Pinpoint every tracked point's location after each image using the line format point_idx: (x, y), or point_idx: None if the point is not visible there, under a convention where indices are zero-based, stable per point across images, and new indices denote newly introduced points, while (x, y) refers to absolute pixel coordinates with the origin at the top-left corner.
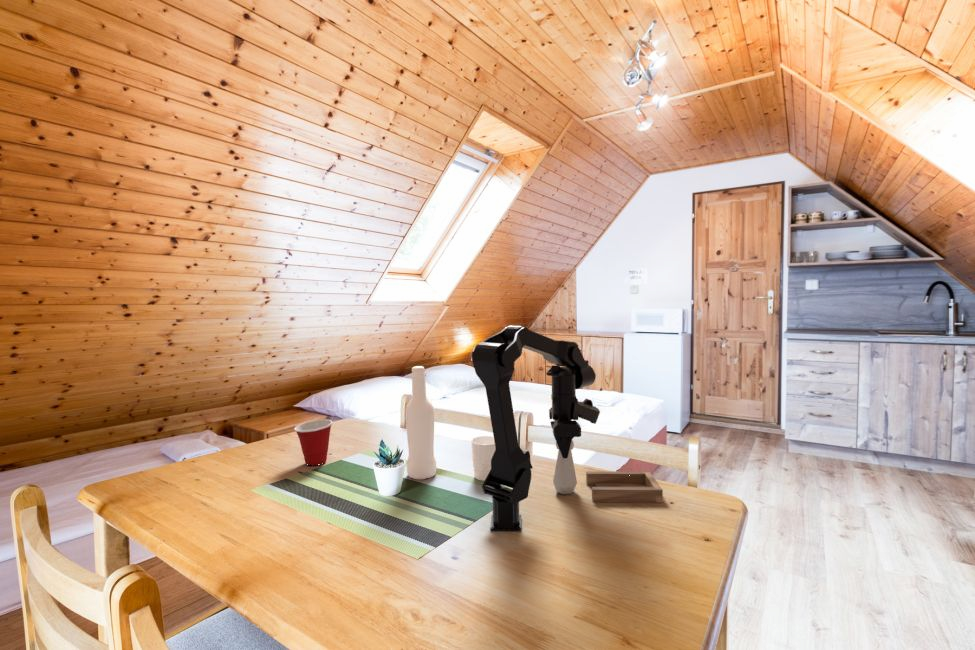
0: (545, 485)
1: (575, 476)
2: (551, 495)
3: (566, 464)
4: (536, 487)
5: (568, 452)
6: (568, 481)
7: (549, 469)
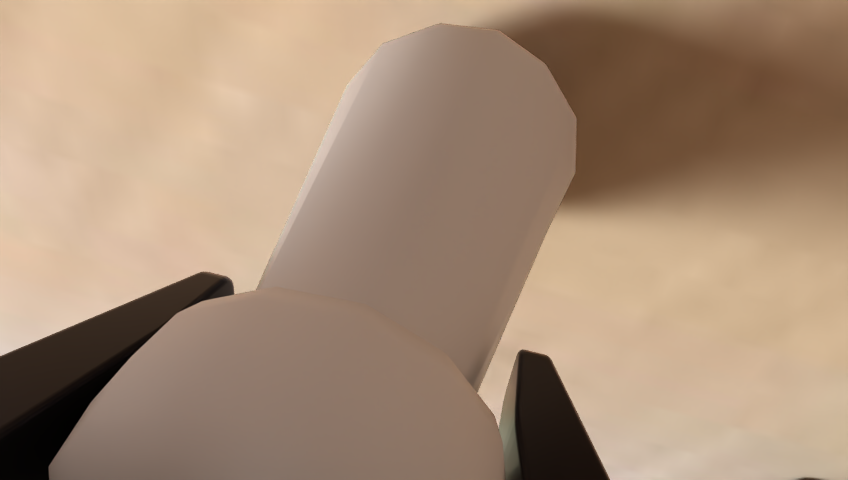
0: None
1: (490, 66)
2: None
3: (519, 280)
4: None
5: (596, 452)
6: (566, 165)
7: (14, 107)
